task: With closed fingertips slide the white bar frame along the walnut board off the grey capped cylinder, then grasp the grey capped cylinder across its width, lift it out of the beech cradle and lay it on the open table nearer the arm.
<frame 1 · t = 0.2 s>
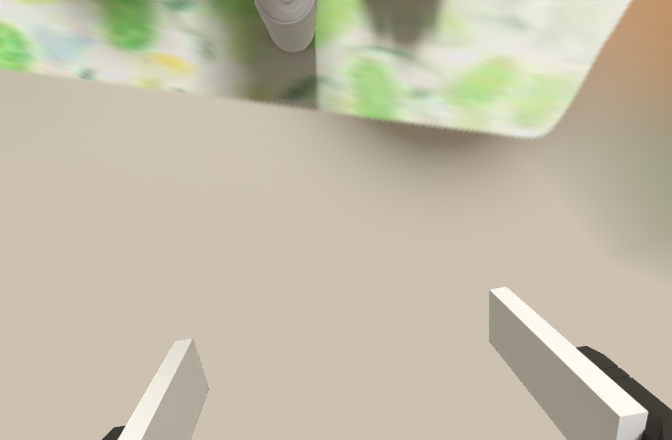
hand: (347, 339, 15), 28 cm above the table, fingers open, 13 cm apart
beverage can: (291, 28, 36), on the table
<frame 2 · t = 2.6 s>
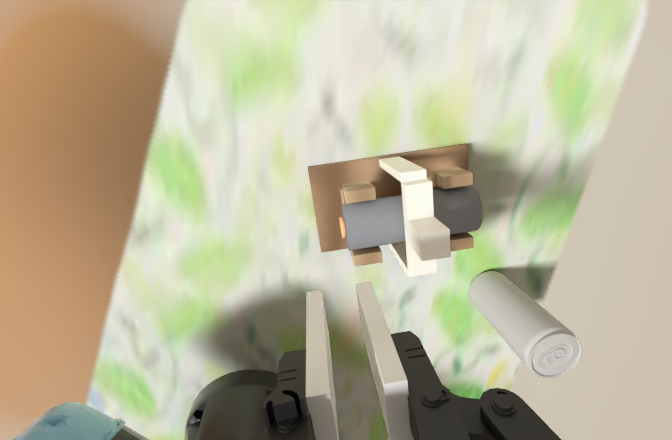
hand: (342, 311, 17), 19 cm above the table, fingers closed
grey capped cylinder: (402, 210, 31), point 5 cm above the table, touching cradle board
white bar frame: (409, 218, 29), point 7 cm above the table, slide at 0.0 cm
beverage can: (484, 286, 40), on the table
cradle board: (389, 197, 36), on the table
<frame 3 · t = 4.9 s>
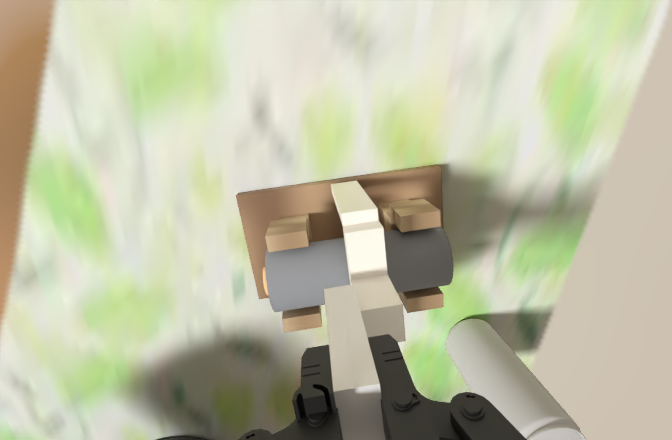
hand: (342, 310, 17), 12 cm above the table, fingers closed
grey capped cylinder: (353, 254, 24), point 5 cm above the table, touching cradle board
white bar frame: (362, 268, 22), point 7 cm above the table, slide at 0.3 cm, touching gripper
beverage can: (466, 335, 33), on the table
cradle board: (345, 231, 29), on the table
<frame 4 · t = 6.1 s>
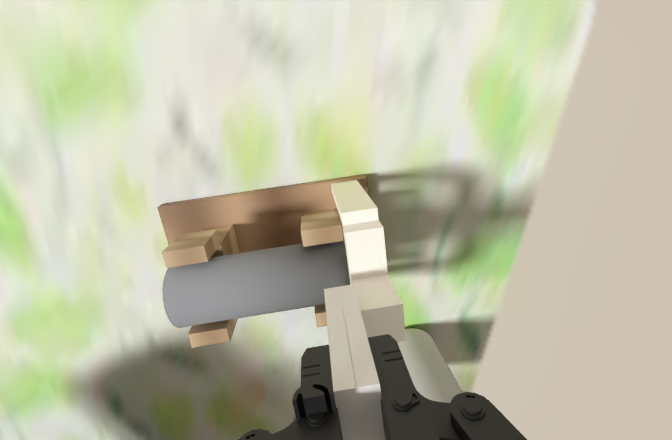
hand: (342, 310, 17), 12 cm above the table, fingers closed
grey capped cylinder: (268, 267, 24), point 5 cm above the table, touching cradle board
white bar frame: (362, 268, 22), point 7 cm above the table, slide at 6.2 cm, touching gripper
beverage can: (407, 345, 33), on the table
cradle board: (275, 241, 28), on the table
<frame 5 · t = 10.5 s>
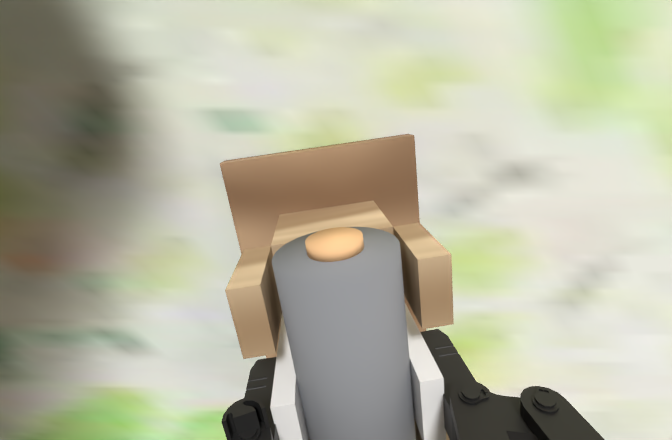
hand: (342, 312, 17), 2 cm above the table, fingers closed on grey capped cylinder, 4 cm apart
grey capped cylinder: (349, 351, 14), point 5 cm above the table, touching cradle board, gripper
cradle board: (338, 291, 19), on the table
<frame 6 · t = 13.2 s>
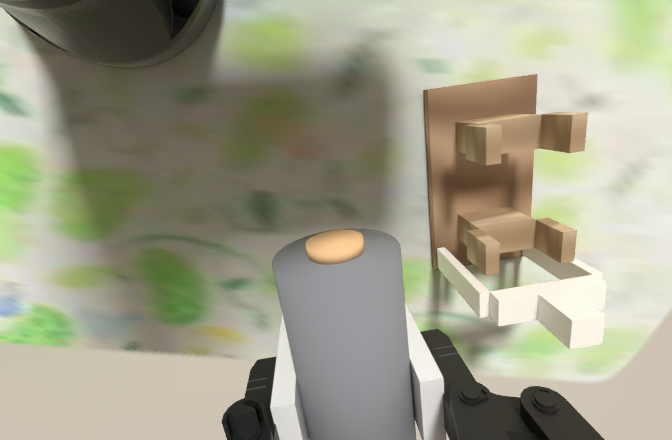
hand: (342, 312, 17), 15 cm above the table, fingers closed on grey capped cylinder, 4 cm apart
grey capped cylinder: (349, 352, 14), point 17 cm above the table, touching gripper
white bar frame: (523, 282, 26), point 7 cm above the table, slide at 6.7 cm
cradle board: (477, 177, 31), on the table
when the fingers open (1 cm above the table, at t = 15.8 s): grey capped cylinder drops 4 cm, on the table.
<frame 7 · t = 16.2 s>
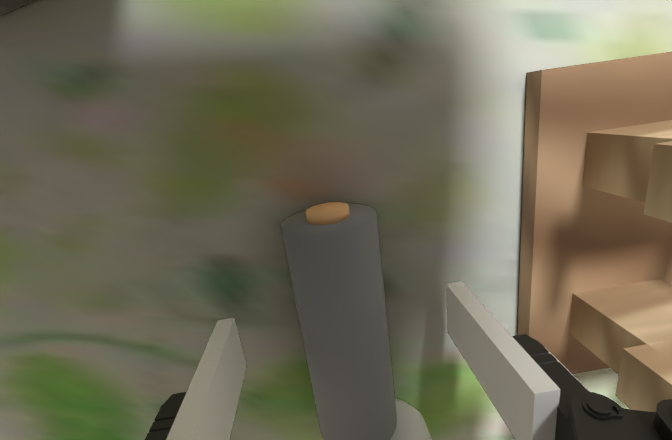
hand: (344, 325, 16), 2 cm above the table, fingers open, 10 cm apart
grey capped cylinder: (341, 305, 18), on the table
beverage can: (382, 421, 20), on the table
cradle board: (605, 228, 17), on the table
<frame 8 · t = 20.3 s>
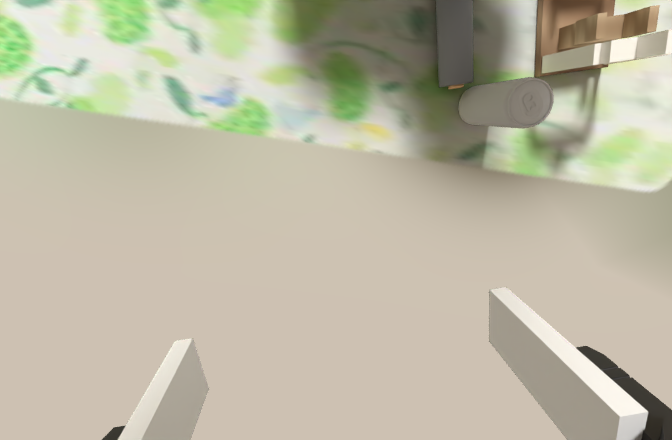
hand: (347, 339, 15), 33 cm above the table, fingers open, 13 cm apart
grey capped cylinder: (463, 35, 41), point 1 cm above the table, tilted 52°
white bar frame: (618, 52, 37), point 7 cm above the table, slide at 6.7 cm
beverage can: (473, 105, 45), on the table
cradle board: (573, 2, 42), on the table
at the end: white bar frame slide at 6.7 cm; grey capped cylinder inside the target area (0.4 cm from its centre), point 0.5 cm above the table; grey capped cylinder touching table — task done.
